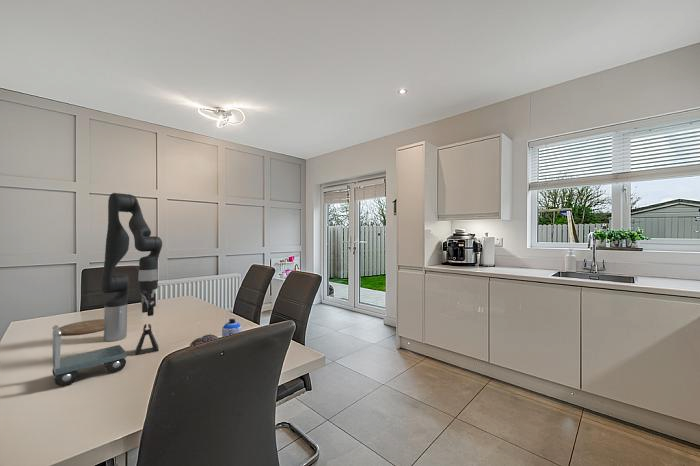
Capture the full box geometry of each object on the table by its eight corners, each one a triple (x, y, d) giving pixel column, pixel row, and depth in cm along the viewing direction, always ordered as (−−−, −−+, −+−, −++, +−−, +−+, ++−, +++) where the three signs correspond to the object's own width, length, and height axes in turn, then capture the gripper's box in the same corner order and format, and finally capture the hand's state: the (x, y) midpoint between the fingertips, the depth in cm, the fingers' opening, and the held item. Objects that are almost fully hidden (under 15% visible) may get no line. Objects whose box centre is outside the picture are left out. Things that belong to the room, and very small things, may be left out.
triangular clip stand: (134, 355, 129) (135, 328, 129) (135, 351, 134) (135, 325, 134) (158, 351, 134) (159, 325, 134) (158, 347, 139) (158, 322, 139)
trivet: (122, 327, 169) (122, 323, 169) (64, 339, 148) (64, 336, 148) (106, 319, 183) (106, 316, 183) (50, 330, 162) (50, 327, 162)
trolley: (51, 378, 108) (52, 325, 108) (119, 361, 123) (120, 314, 124) (54, 390, 100) (55, 333, 100) (126, 370, 115) (127, 320, 116)
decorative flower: (172, 345, 117) (202, 324, 130) (173, 367, 121) (203, 344, 134) (199, 360, 112) (228, 337, 126) (200, 382, 117) (228, 357, 130)
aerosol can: (216, 370, 116) (217, 320, 116) (231, 362, 124) (231, 315, 124) (231, 373, 113) (232, 322, 114) (245, 365, 121) (246, 317, 121)
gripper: (134, 278, 136) (133, 312, 136) (143, 281, 127) (142, 318, 127) (152, 276, 142) (152, 309, 142) (162, 279, 133) (161, 315, 133)
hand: (147, 314), depth 134 cm, fingers open, 8 cm apart
